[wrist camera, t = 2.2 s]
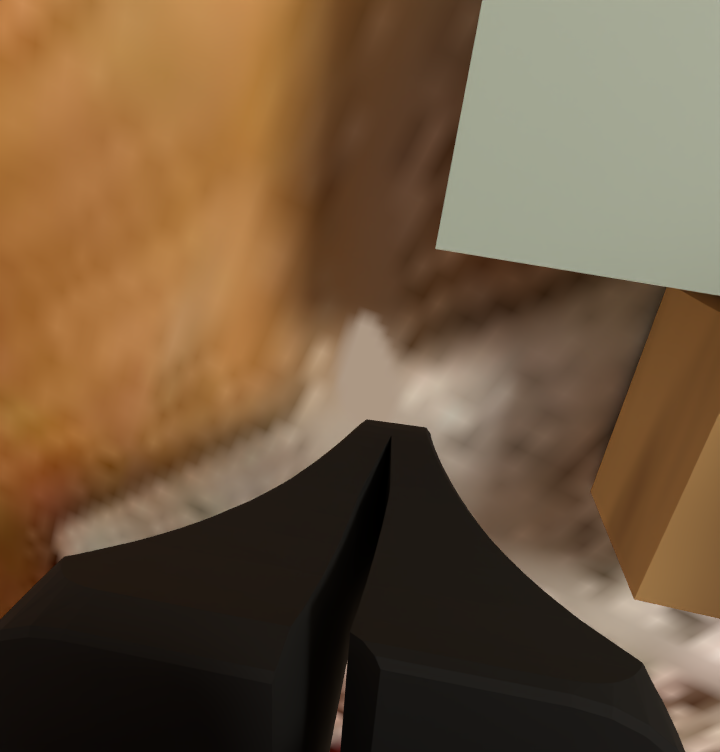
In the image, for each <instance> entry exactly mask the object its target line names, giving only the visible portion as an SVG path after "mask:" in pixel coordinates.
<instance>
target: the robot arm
mask: <svg viewBox="0 0 720 752" xmlns="http://www.w3.org/2000/svg"><path fill="white" fill-rule="evenodd" d="M347 660H348V663H347ZM346 664H347V676H346V688H345V701H344V713H343V726H342V738H341V751H340V752H685V750H684V748H683V745H682V743H681V740H680V738H679V735H678V733H677V731H676V728H675V726H674V724H673V722H672V720H671V718H670V716H669V713H668V711H667V709H666V707H665V705H664V703H663V701H662V699H661V698H660V696H659V694H658V692H657V690H656V688H655V686H654V684H653V683H652V681H651V679H650V677H649V675H648V673H647V671H646V669H645V666H644V665H643V663H642V662H640V661H639V660H638V659H636V658H635V657H633V656H632V655H630V654H629V653H627V652H626V651H624V650H623V649H622V648H620V647H619V646H617V645H616V644H614V643H613V642H611V641H610V640H608V639H607V638H606V637H604V636H603V635H601V634H600V633H598V632H597V631H595V630H594V629H592V628H591V627H590V626H588V625H587V624H585V623H584V622H582V621H581V620H580V619H578V618H577V617H576V616H574V615H573V614H572V613H570V612H569V611H568V610H567V609H565V608H564V607H563V606H562V605H560V604H559V603H558V602H557V601H556V600H554V599H553V598H552V597H551V596H549V595H548V594H547V593H546V592H544V591H543V590H542V589H541V588H540V587H539V586H538V585H536V584H535V583H534V582H533V581H532V580H531V579H530V578H528V577H527V576H526V575H525V574H524V573H523V572H522V571H521V570H520V569H519V568H518V567H517V566H516V565H515V564H514V563H513V562H512V561H511V560H510V559H509V558H508V557H507V556H506V555H505V554H504V553H503V552H502V551H501V550H500V549H499V548H498V547H497V546H496V545H495V544H494V543H493V541H492V540H491V539H490V538H489V537H488V535H487V534H486V533H485V532H484V531H483V529H482V528H481V527H480V525H479V524H478V523H477V521H476V520H475V519H474V517H473V516H472V515H471V513H470V512H469V510H468V509H467V507H466V506H465V504H464V503H463V501H462V500H461V498H460V497H459V495H458V493H457V492H456V490H455V488H454V487H453V485H452V483H451V481H450V479H449V477H448V476H447V474H446V472H445V470H444V468H443V466H442V464H441V462H440V460H439V458H438V455H437V453H436V450H435V448H434V445H433V442H432V439H431V434H430V432H429V431H428V430H427V428H425V427H418V426H411V425H403V424H396V423H389V422H381V421H374V420H365V421H364V422H363V423H361V424H360V425H359V426H358V427H357V428H355V429H354V430H353V431H352V432H351V433H350V434H349V435H348V436H347V437H345V438H344V439H343V440H342V441H341V442H340V443H338V444H337V445H336V446H335V447H334V448H332V449H331V450H330V451H329V452H327V453H326V454H325V455H323V456H322V457H321V458H320V459H318V460H317V461H316V462H314V463H313V464H312V465H310V466H309V467H307V468H306V469H304V470H303V471H301V472H300V473H299V474H297V475H296V476H294V477H293V478H291V479H290V480H288V481H286V482H285V483H283V484H281V485H279V486H278V487H276V488H274V489H272V490H270V491H268V492H267V493H265V494H263V495H261V496H259V497H257V498H255V499H253V500H251V501H249V502H247V503H244V504H242V505H239V506H237V507H235V508H232V509H230V510H227V511H225V512H223V513H220V514H218V515H216V516H213V517H211V518H208V519H206V520H203V521H200V522H197V523H194V524H192V525H189V526H186V527H183V528H180V529H177V530H173V531H170V532H167V533H163V534H160V535H157V536H153V537H150V538H146V539H142V540H138V541H135V542H130V543H126V544H121V545H117V546H113V547H108V548H104V549H99V550H95V551H90V552H86V553H81V554H76V555H71V556H66V557H64V558H63V559H61V560H60V561H59V562H58V563H57V564H56V565H55V566H54V567H53V568H52V569H51V570H50V571H49V572H48V573H47V574H46V575H45V576H43V577H42V578H41V579H40V580H39V581H38V582H37V583H36V584H35V585H34V586H33V587H32V588H31V589H30V590H29V591H28V592H27V593H26V594H25V595H24V596H23V597H22V598H21V599H20V600H19V601H18V602H17V603H16V604H15V605H14V606H13V607H12V608H11V609H10V610H9V611H8V612H7V613H6V614H5V615H4V616H3V617H2V618H1V619H0V752H329V750H330V745H331V740H332V735H333V730H334V724H335V719H336V714H337V709H338V704H339V699H340V694H341V689H342V684H343V679H344V674H345V669H346Z"/></svg>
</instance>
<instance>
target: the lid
mask: <svg viewBox="0 0 720 752" xmlns="http://www.w3.org/2000/svg"><path fill="white" fill-rule="evenodd" d="M435 249H439V250H445V251H451V252H458V253H464V254H470V255H476V256H482V257H488V258H494V259H500V260H506V261H512V262H518V263H524V264H530V265H537V266H543V267H549V268H555V269H561V270H567V271H573V272H579V273H585V274H591V275H597V276H603V277H609V278H616V279H622V280H628V281H634V282H640V283H646V284H652V285H658V286H664V287H670V288H676V289H682V290H688V291H695V292H701V293H707V294H713V295H719V296H720V0H482V4H481V10H480V15H479V20H478V26H477V31H476V36H475V42H474V47H473V52H472V57H471V63H470V68H469V73H468V79H467V84H466V89H465V94H464V100H463V105H462V110H461V116H460V121H459V126H458V131H457V137H456V142H455V147H454V153H453V158H452V163H451V169H450V174H449V179H448V184H447V190H446V195H445V200H444V206H443V211H442V216H441V221H440V227H439V232H438V237H437V243H436V248H435Z"/></svg>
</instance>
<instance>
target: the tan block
mask: <svg viewBox="0 0 720 752" xmlns="http://www.w3.org/2000/svg"><path fill="white" fill-rule="evenodd" d="M591 494H592V496H593V499H594V501H595V504H596V506H597V509H598V511H599V514H600V516H601V519H602V521H603V524H604V526H605V528H606V531H607V533H608V536H609V538H610V541H611V543H612V546H613V548H614V551H615V553H616V556H617V558H618V561H619V563H620V565H621V568H622V570H623V573H624V575H625V578H626V580H627V583H628V585H629V588H630V590H631V593H632V595H633V598H634V599H635V600H640V601H644V602H649V603H653V604H658V605H662V606H666V607H671V608H675V609H680V610H684V611H688V612H693V613H697V614H702V615H706V616H711V617H715V618H719V619H720V296H719V295H713V294H707V293H701V292H695V291H688V290H682V289H676V288H670V287H667V288H666V290H665V293H664V296H663V298H662V301H661V304H660V306H659V309H658V312H657V314H656V317H655V320H654V323H653V325H652V328H651V331H650V333H649V336H648V339H647V341H646V344H645V347H644V349H643V352H642V355H641V357H640V360H639V363H638V365H637V368H636V371H635V374H634V376H633V379H632V382H631V384H630V387H629V390H628V392H627V395H626V398H625V400H624V403H623V406H622V408H621V411H620V414H619V416H618V419H617V422H616V425H615V427H614V430H613V433H612V435H611V438H610V441H609V443H608V446H607V449H606V451H605V454H604V457H603V459H602V462H601V465H600V467H599V470H598V473H597V476H596V478H595V481H594V484H593V486H592V489H591Z"/></svg>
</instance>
